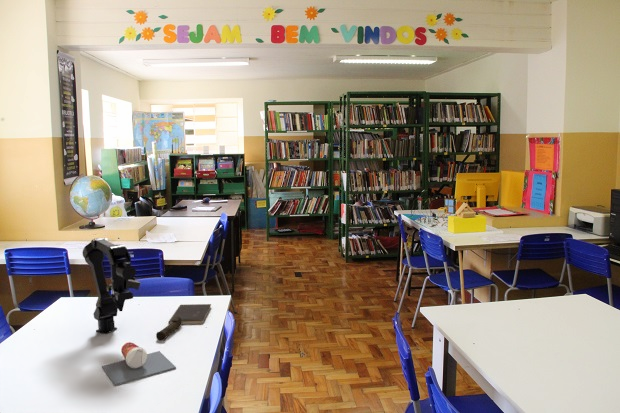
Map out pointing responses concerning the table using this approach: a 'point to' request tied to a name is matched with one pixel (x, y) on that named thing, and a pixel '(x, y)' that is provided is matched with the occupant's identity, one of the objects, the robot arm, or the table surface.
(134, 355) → the paper cup
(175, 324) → the brown wooden branch
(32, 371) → the table surface
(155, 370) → the mat
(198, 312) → the hardcover book
